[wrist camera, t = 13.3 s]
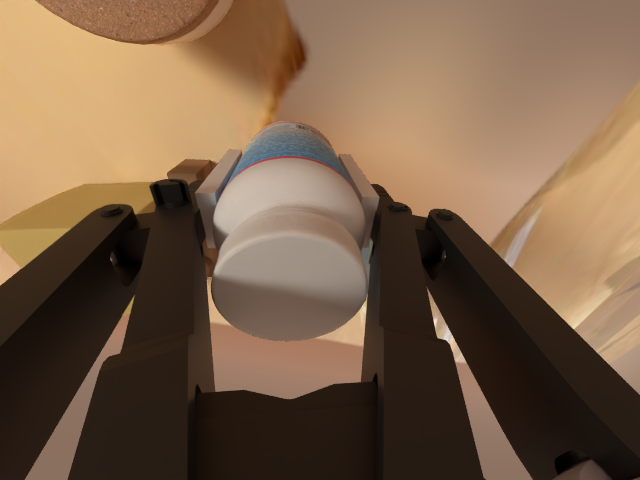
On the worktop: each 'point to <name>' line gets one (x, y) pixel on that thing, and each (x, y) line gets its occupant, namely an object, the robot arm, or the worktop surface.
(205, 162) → the stop rail
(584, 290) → the worktop surface
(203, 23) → the lidded bowl
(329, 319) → the pill bottle
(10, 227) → the cheese
